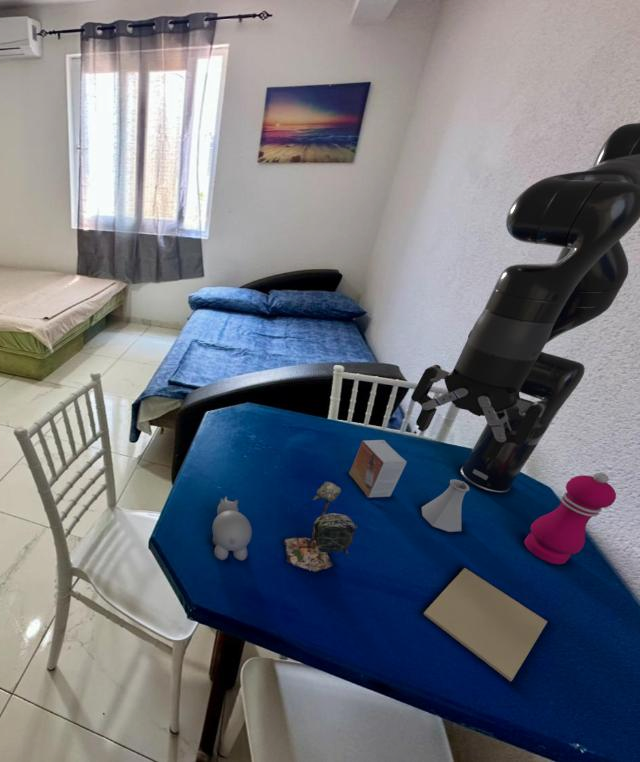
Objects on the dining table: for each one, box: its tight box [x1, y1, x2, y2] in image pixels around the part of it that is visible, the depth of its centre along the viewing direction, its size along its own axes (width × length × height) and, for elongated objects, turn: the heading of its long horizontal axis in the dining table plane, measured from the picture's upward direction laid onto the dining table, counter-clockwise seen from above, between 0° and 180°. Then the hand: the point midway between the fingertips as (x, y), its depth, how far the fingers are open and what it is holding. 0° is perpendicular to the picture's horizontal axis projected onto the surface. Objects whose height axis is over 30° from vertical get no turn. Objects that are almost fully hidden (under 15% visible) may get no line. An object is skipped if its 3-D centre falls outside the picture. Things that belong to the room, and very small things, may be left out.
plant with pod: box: [283, 481, 358, 573], centre depth 73 cm, size 8×11×20 cm
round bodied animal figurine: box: [211, 495, 253, 561], centre depth 79 cm, size 7×12×8 cm, turn 174°
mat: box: [423, 567, 548, 682], centre depth 68 cm, size 16×12×1 cm
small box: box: [349, 439, 407, 498], centre depth 93 cm, size 8×6×10 cm
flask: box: [421, 478, 470, 533], centre depth 85 cm, size 7×7×10 cm
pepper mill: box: [523, 472, 617, 565], centre depth 76 cm, size 7×7×20 cm
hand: (452, 443), depth 62 cm, fingers open, 8 cm apart
